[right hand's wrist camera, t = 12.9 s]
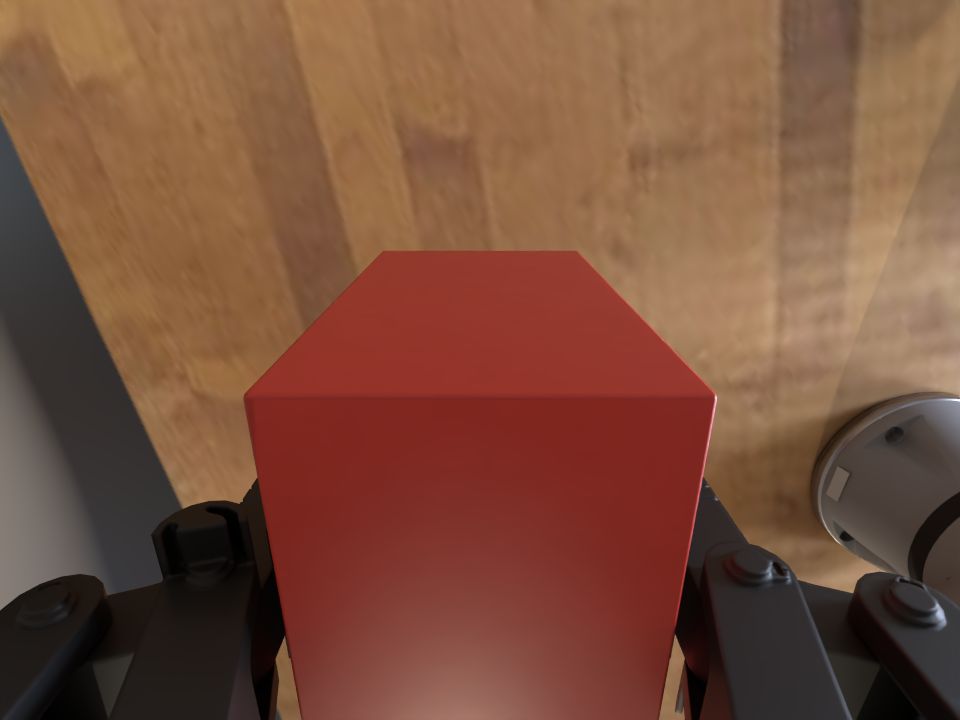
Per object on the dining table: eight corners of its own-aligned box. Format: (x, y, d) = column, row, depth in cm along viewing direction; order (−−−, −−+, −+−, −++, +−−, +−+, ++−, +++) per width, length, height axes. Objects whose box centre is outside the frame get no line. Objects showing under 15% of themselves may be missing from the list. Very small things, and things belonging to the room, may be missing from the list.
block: (577, 250, 14) (719, 395, 6) (559, 528, 17) (631, 875, 9) (382, 250, 14) (240, 395, 6) (400, 528, 17) (328, 875, 9)
